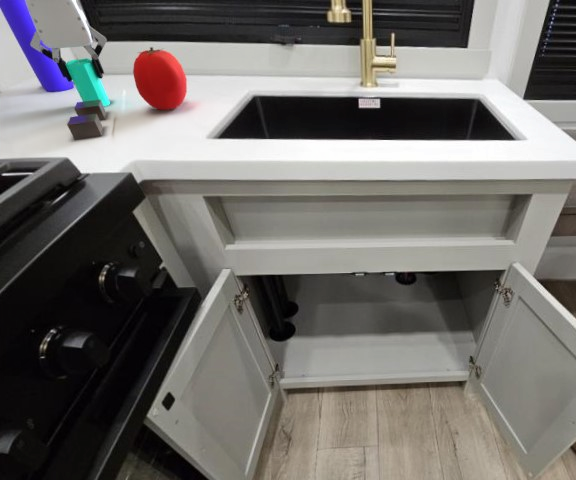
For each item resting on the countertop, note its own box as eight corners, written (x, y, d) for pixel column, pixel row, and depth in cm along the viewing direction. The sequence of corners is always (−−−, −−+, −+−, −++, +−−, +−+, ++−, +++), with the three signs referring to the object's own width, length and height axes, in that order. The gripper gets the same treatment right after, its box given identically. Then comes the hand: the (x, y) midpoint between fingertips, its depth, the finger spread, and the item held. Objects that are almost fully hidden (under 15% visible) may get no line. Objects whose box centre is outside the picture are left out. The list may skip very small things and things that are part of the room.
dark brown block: (83, 126, 75) (74, 108, 72) (85, 120, 78) (76, 102, 76) (106, 123, 76) (98, 105, 74) (108, 117, 80) (100, 99, 77)
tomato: (136, 109, 83) (113, 48, 74) (178, 98, 90) (162, 41, 81) (159, 119, 78) (137, 55, 69) (202, 106, 84) (188, 46, 76)
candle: (97, 103, 87) (73, 51, 79) (116, 105, 86) (95, 51, 78) (81, 111, 83) (54, 56, 75) (101, 112, 82) (76, 57, 74)
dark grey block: (77, 144, 67) (66, 124, 65) (80, 136, 71) (70, 116, 68) (103, 140, 69) (94, 120, 66) (105, 132, 72) (96, 113, 69)
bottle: (39, 89, 99) (-35, -47, 79) (67, 83, 104) (4, -46, 84) (51, 93, 95) (-23, -48, 75) (80, 87, 100) (17, -47, 80)
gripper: (90, -20, 73) (124, 71, 85) (-1, -17, 68) (48, 79, 80) (87, -19, 68) (123, 78, 80) (-12, -16, 63) (42, 86, 75)
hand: (85, 78), depth 80 cm, fingers closed on candle, 6 cm apart
